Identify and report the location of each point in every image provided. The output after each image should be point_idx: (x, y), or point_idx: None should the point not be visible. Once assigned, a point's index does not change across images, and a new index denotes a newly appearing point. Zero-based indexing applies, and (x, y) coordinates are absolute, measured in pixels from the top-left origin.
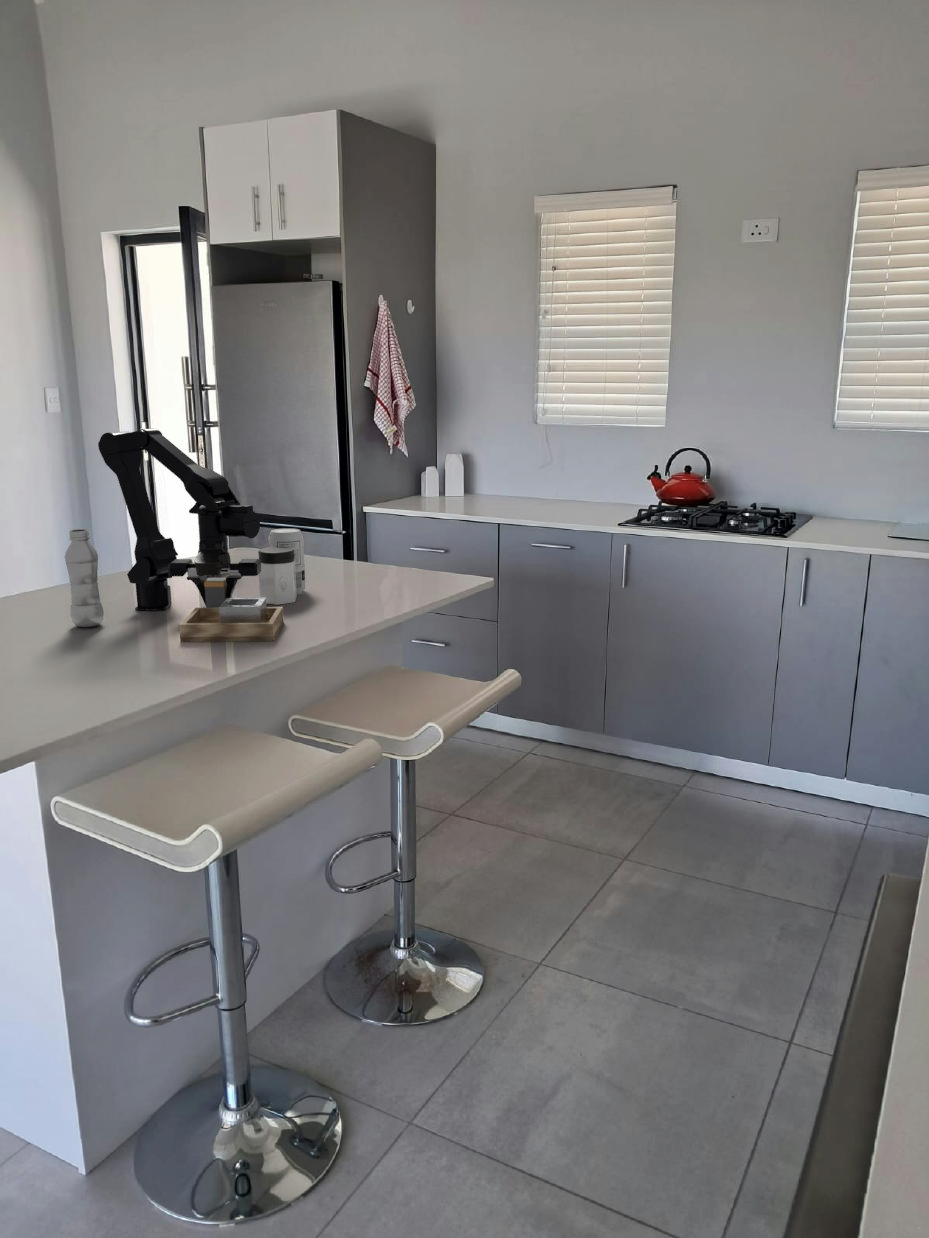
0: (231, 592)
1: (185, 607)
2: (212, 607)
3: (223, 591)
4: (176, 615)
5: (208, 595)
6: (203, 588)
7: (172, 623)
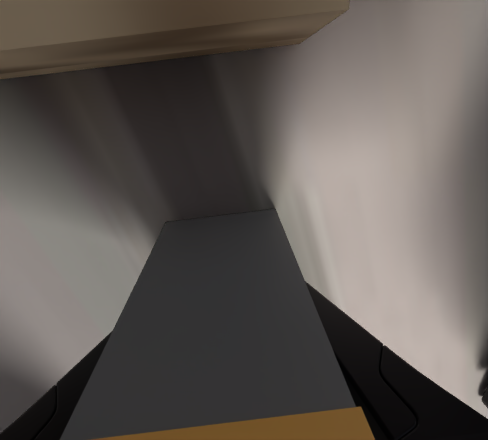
0: (52, 391)
1: (419, 369)
2: (241, 246)
3: (101, 371)
4: (453, 247)
5: (281, 310)
6: (368, 397)
7: (475, 50)
